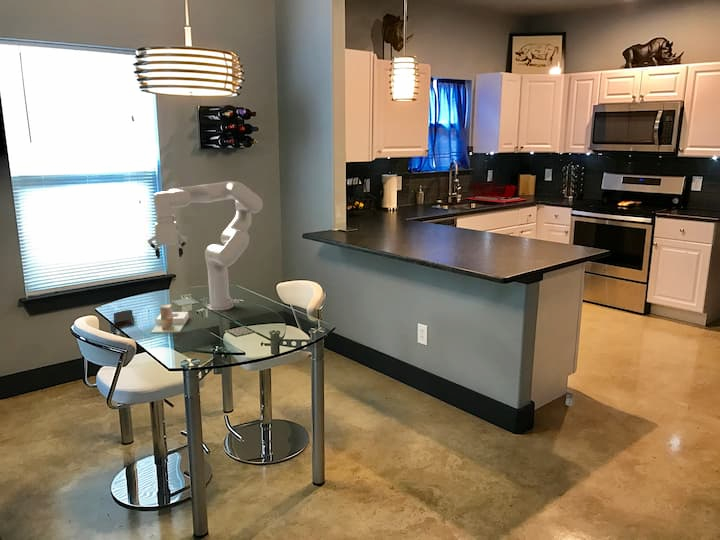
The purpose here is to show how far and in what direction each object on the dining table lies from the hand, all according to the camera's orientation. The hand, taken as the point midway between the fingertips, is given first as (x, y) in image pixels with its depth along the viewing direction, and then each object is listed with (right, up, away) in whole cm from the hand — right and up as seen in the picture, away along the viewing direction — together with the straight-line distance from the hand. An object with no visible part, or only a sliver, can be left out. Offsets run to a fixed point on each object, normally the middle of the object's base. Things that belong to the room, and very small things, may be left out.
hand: (169, 257), depth 261 cm
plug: (+3, -31, -11) cm, 33 cm away
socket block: (+2, -30, -1) cm, 30 cm away
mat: (+3, -32, -11) cm, 34 cm away
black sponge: (-21, -30, +1) cm, 37 cm away
